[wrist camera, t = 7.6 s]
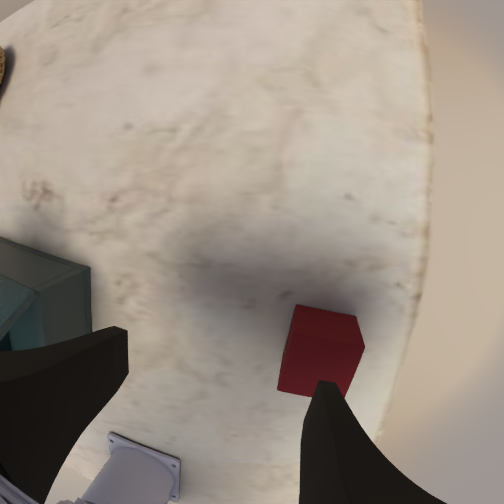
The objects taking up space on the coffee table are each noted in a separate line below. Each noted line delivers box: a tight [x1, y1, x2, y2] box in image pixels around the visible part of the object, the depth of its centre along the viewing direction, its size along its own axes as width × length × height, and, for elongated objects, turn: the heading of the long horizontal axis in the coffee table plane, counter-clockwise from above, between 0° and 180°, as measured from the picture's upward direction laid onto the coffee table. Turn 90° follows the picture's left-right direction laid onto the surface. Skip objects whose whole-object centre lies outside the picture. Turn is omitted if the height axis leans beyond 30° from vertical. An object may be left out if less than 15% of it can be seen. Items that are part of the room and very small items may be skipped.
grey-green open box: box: [0, 237, 92, 351], centre depth 22 cm, size 14×13×6 cm
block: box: [277, 304, 365, 398], centre depth 18 cm, size 4×4×4 cm
